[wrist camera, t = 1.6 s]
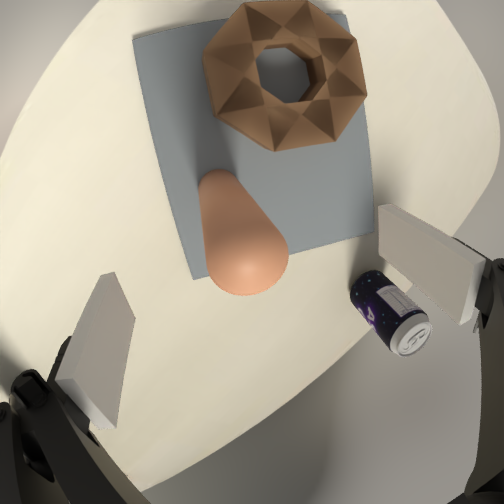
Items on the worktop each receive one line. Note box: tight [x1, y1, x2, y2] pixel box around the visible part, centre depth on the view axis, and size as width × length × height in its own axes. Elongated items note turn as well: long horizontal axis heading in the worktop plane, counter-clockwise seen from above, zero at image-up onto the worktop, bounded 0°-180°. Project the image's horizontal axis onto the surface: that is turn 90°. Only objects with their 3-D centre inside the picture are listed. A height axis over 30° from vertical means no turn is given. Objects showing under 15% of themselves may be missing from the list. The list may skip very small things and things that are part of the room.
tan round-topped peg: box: [198, 169, 289, 296], centre depth 21 cm, size 4×4×16 cm
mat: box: [132, 14, 374, 280], centre depth 28 cm, size 22×26×1 cm
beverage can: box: [350, 270, 432, 357], centre depth 33 cm, size 6×6×12 cm
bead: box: [202, 0, 367, 152], centre depth 23 cm, size 14×14×4 cm
